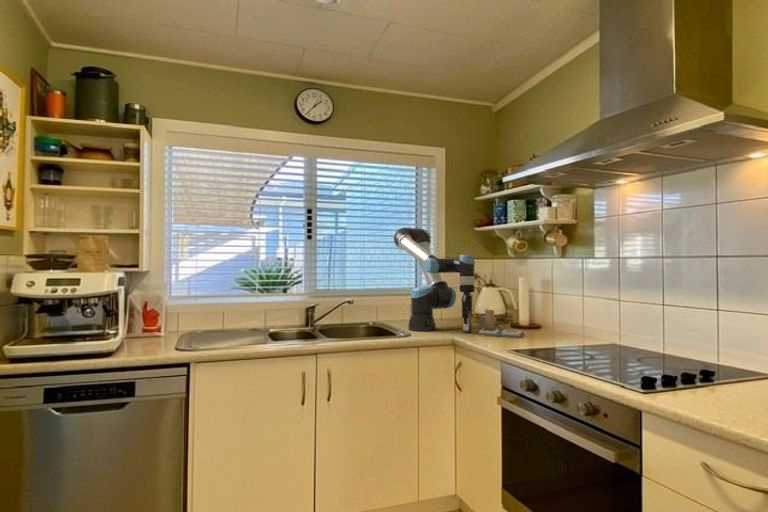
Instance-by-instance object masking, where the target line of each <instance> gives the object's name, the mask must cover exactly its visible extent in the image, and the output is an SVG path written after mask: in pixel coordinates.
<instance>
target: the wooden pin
mask: <svg viewBox="0 0 768 512" xmlns="http://www.w3.org/2000/svg"><path fill="white" fill-rule="evenodd" d="M468 318H469V330H463V329H462V333H463V334H472V323H473V322H472V320H473V318H472V316H471V311H468Z"/></svg>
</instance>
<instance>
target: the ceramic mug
mask: <svg viewBox="0 0 768 512" xmlns="http://www.w3.org/2000/svg"><path fill="white" fill-rule="evenodd" d="M478 325H479V327H480V328H481V329H482V328H485V315H483V316H480V318H479V320H478ZM494 329H499V330H500V325H499V324H498V321H497V317H496V316H495V315H494Z"/></svg>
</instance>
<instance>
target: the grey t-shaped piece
mask: <svg viewBox="0 0 768 512" xmlns="http://www.w3.org/2000/svg"><path fill="white" fill-rule="evenodd" d="M484 316H485V328H481V329H480V330H479V331H478V332H477V334H476V335H477V336H481V335H483V337H484V336H485V337H500V338H513V339H522V338H523V337H524V335H525V333H524V332H522V329H521V330H520V329H506V328H505V329H503V330H500V328H499V329H494V316H495V311H494V310H493V309H485V310H484Z"/></svg>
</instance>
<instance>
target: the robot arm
mask: <svg viewBox="0 0 768 512" xmlns="http://www.w3.org/2000/svg"><path fill="white" fill-rule="evenodd" d="M431 239H432V238H431V234H430V232H429V231H428V230H427V229H425V228H420V227H419V228H418V227H417V228H414V227H413V228H411V227H401V228H398V229H397V230H396V231H395V233H394V236H393V242H394V244H395V246H396V247H398V249H399V250H401V251H405V252H406V253H408V254H409V255H410V256H411V257H413V258H414V259H415V260H417V262H418V263H419V266H420V268H421V270H422V271H421V272H422V273H423V275H424V278H425V280H426V283H427V285H420V286H419V285H418V286H415V287H413V288H412V289H411V295H410V298H411V299H410V300H411V301H410V304H411V305H410V309H411V316H410V319H409V322H408V325H407V329H408V330H410V331H414V332H433V331H436V330H437V324H436V321H435V318H434V314H433V313H434V312H433V311H434V310H438V309H439V310H440V309H443V310H444V309H450V308H452V307H453V306H454V304H455V303H456V299H457V294H456V293H457V292H456V290H455V288H453V287H452V286H449V285H448V282H447V281H445V280H443V278H442V276H441V274H442V273H446V274H451V273H454V274H455V273H457V274H458V273H459V293H460V292H461V293H463V295H462V297H461V318H462V331H463V330H469V318H468V311H471V317H473V296H472V294H471V293H474V292H475V285H474V284H475V281H476V278H475V263H476V262H475V256H474V254H460V255H459V258H440V257H439V258H438V257H437V256H435V255H434V254H432V253H431V250H430V246H431V245H430V244H431V243H432V242H431V241H432V240H431Z"/></svg>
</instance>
